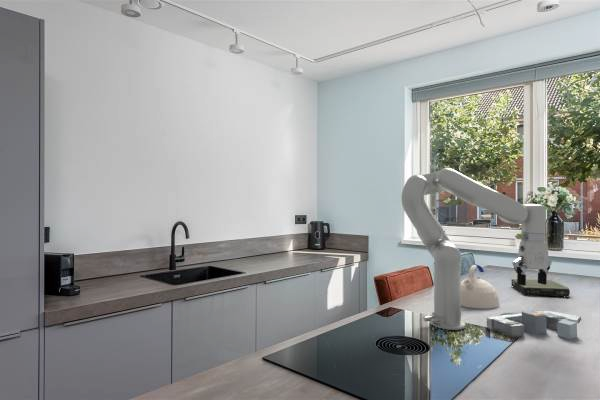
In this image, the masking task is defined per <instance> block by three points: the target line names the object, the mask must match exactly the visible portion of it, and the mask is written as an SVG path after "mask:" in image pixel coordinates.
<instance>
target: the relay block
mask: <svg viewBox="0 0 600 400" xmlns="http://www.w3.org/2000/svg"><path fill="white" fill-rule="evenodd" d="M556 331H557V337H561V338H563V339H566V340H567V339H568V340H573V339H575V338H577V337H578V323H577V322H572V321H568V320H562V321H559V322H557V330H556Z"/></svg>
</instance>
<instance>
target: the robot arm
mask: <svg viewBox="0 0 600 400" xmlns="http://www.w3.org/2000/svg"><path fill="white" fill-rule="evenodd" d="M440 192H447V193H449V194H450V195H452V196H453V197H456V198H458V199H459V200H462V201H463V202H465V203H466V204H469V205H471V206H474V207H477V208H479V209H480V208H481V209H483V210H486V211H488V212H491V213H493V214H494V215H496V216H498V218H499V219H500V220H501V221H502V222H504V223H507V224H513V225H519V224H521V234H520V239H521V240H520V241H519V245H518V246H519V247H518V253H517V258H516V259H515V260H513V261H512V262H511V264H512V265H513V269H514V271H515V273H516V274H517V276H516V277H517V278H516V279H517V284H519V285H523V286H525V285H526V280H527V274H526V272H527V271H528V270H530V271H531V270H532V271H533V270H535V271H536V270H538V272H537V280H538V283H540V284H544V285H546V284H547V280H548V278H547V277H548V274H549V271H550V269H551V266H552V263H553V261H552V260H551V259H549V248H548V243H547V242H546V224H547V223H546V219H547V218H546V216H547V215H546V214H547V207H546V206H545V205H543V204H538V203H537V204H536V203H527V204H522V203H521V202H518V201H516V200H515V199H513V198H511V197H509V196H508V195H505V194H504V193H501V192H499V191H496V190H494V189H493V188H491V187H488V186H486V185H484V184H482V183H480V182H478V181H476V180H473V179H472V178H470V177H468V176H466V175H464V174H463V173H462V172H459V171H457V170H455V169H453V168H450V167H445V168H441V169H440V170H437V171H433V172H431V173H425V174H421V175H419V174H413V175H412V176H410V177H409V178H408V179H407V180H406V182H405V184H404V186H403V188H402V192H401V198H400V199H401V205H402V208H403V211H404V212H405V214H406V216H407V217H408V219H409V221H410V223H411V224H412V225H413V228H415V230H416V234H417V235H418V237H419V239H420V241H421V242H422V244H423V245H424V247H425V248H426V249H427V251H428V252H429V254H430V255H431V257H432V258H433V261H434V264H433V265H434V266H433V268H434V269H433V292H434V293H433V298H434V300H433V303H434V304H433V306H434V307H433V309H434V310H433V312H431V314H430V315H426V316H423V317H422V319H423V321H424V322H430V323H431V324H430V323H429V324H430V325H431V326H432V325H433V326H432V327H434V326H435V327H434V328H437V327H438V328H437V329H440V328H442V329H441V330H445V329H446V330H447V331H458V330H463V329H465V328H466V323H465V322H464V321H462V319H461V317H462V312H461V311H462V306H461V285H460V282H461V269H462V254H461V251H460V249H459V248H458V247H457V246H456V245H455V244H454V243H453V242H452V241H451V240H450V238H449V237H448V235H447V234H446V232H445V231H444V228H443V226H442V224H441V222H439V221H438V219H437V218H436V216H435V215H434V214H433V213H432V211H431V209H430V207H429V206H428V204H427V202H426V201H425V200H426V199H425V196H428V195H432V194H437V193H440Z"/></svg>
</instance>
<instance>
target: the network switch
mask: <svg viewBox="0 0 600 400" xmlns="http://www.w3.org/2000/svg"><path fill="white" fill-rule="evenodd" d="M512 286H513V287H514V288H513V287H512ZM511 287H512V288H513V289H515V288H516V289H515V290H517V291H518V292H519V293H520V292H521V294H522V293H523V294H524V295H523V294H522V295H523V296H530V295H544V297H545V296H546V297H547V296H548V297H560V296H565V297H564V298H567V297H566V296H568V297H570V294H571V293H570V288H569V287H568V286H565V285H563V284H561V283H558V282H557V281H555V280H548V279H547V284H546V285H544V284H540V283H538V279H526V285H525V286H523V285H519V284H517V278H512V279H511Z"/></svg>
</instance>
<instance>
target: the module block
mask: <svg viewBox="0 0 600 400" xmlns="http://www.w3.org/2000/svg"><path fill="white" fill-rule="evenodd" d="M521 313H522V324H523V325H524V331H527V332H529V333H530V334H534V335H539V334H546V333H547V328H548V327H547V326H546V315H545V314H543V313H538V311H535V310H526V311H525V310H524V311H521Z"/></svg>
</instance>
